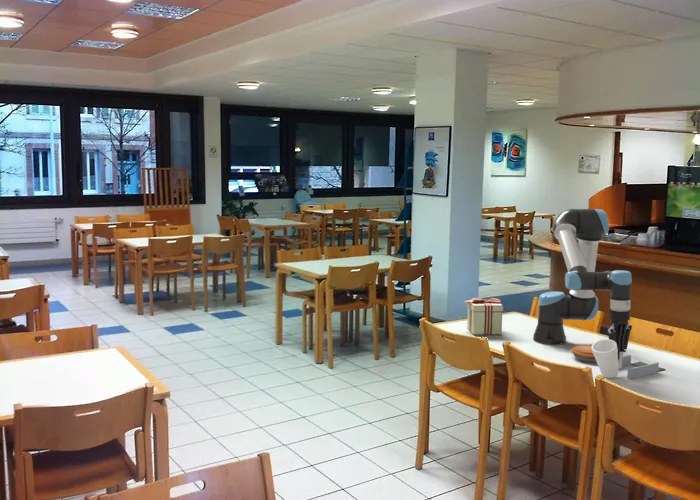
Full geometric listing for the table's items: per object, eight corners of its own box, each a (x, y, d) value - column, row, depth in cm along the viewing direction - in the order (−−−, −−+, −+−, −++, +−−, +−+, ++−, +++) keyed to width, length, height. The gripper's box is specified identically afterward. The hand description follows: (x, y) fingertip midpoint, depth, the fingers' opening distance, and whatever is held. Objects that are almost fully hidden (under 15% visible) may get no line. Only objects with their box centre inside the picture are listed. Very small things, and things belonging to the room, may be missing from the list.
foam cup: (593, 371, 263) (586, 344, 258) (614, 363, 263) (608, 336, 259) (606, 383, 254) (599, 355, 250) (627, 374, 255) (621, 346, 250)
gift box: (491, 326, 341) (492, 294, 339) (504, 335, 323) (506, 301, 320) (460, 327, 338) (461, 294, 336) (471, 336, 320) (472, 301, 318)
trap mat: (630, 364, 275) (630, 363, 275) (639, 362, 278) (639, 361, 278) (656, 372, 265) (656, 371, 265) (665, 369, 268) (665, 369, 268)
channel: (600, 370, 267) (600, 360, 267) (628, 363, 276) (629, 354, 276) (629, 379, 255) (629, 369, 255) (657, 372, 264) (658, 363, 264)
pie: (562, 356, 287) (563, 345, 286) (589, 352, 293) (589, 341, 292) (588, 366, 273) (589, 354, 272) (616, 362, 279) (616, 350, 279)
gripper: (617, 313, 252) (615, 372, 254) (638, 309, 258) (636, 367, 261) (601, 309, 258) (599, 367, 261) (622, 306, 265) (620, 362, 267)
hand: (618, 367), depth 261 cm, fingers closed
